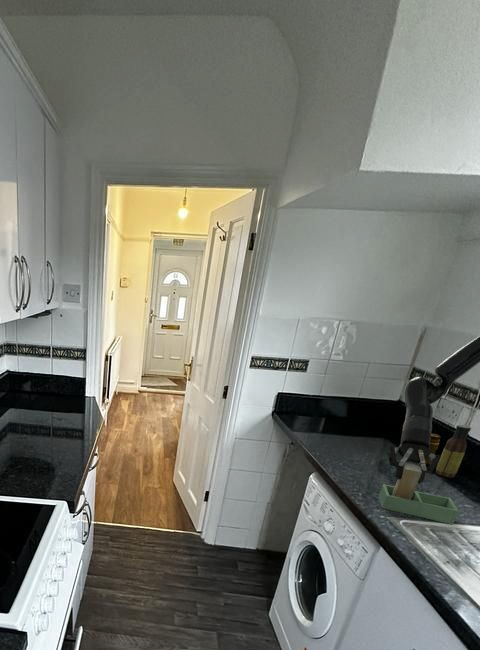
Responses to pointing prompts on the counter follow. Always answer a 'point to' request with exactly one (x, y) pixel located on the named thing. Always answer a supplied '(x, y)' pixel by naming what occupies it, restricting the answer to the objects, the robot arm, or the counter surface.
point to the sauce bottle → (453, 452)
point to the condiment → (433, 445)
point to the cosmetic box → (407, 481)
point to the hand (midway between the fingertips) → (409, 480)
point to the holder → (420, 505)
